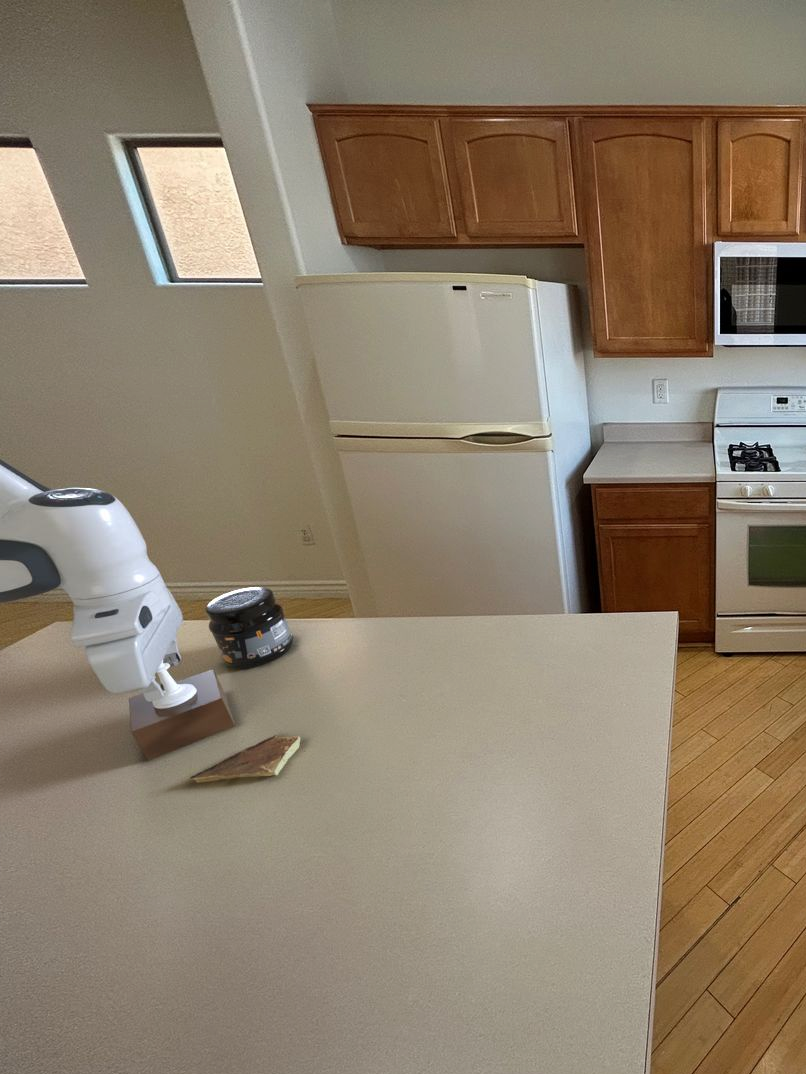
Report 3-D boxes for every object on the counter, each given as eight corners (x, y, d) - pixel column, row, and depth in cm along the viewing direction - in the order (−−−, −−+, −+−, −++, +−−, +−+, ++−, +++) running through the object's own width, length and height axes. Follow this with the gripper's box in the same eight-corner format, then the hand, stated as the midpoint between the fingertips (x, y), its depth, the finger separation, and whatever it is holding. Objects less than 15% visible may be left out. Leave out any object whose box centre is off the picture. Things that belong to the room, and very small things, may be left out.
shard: (193, 785, 77) (188, 776, 76) (231, 744, 84) (227, 735, 83) (276, 780, 78) (272, 771, 77) (307, 739, 85) (303, 731, 84)
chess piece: (152, 713, 81) (122, 658, 77) (154, 696, 84) (125, 642, 80) (196, 698, 84) (170, 644, 80) (196, 682, 87) (170, 630, 83)
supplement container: (227, 650, 105) (203, 596, 100) (295, 632, 111) (275, 579, 106) (224, 679, 97) (198, 622, 92) (297, 658, 103) (276, 602, 98)
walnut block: (148, 763, 80) (130, 732, 78) (145, 727, 87) (128, 698, 84) (236, 727, 87) (221, 698, 84) (226, 697, 93) (213, 668, 91)
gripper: (119, 575, 84) (157, 650, 89) (63, 644, 68) (113, 730, 73) (174, 566, 87) (208, 639, 92) (132, 630, 71) (176, 713, 76)
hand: (165, 680), depth 83 cm, fingers open, 7 cm apart
